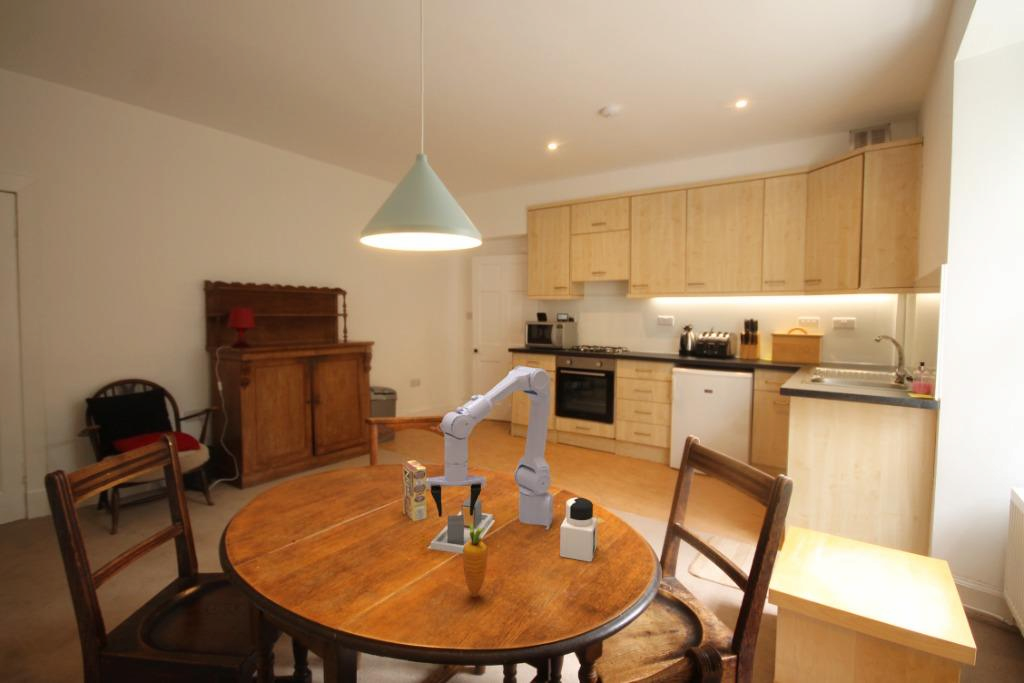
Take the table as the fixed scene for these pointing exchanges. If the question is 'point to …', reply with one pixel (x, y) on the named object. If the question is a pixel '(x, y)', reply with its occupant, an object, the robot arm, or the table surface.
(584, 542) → the container
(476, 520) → the grey toy block
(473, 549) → the carrot
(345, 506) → the table surface
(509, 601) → the table surface
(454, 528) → the grey block orange top
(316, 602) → the table surface
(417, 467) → the candy box
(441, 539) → the white tray
